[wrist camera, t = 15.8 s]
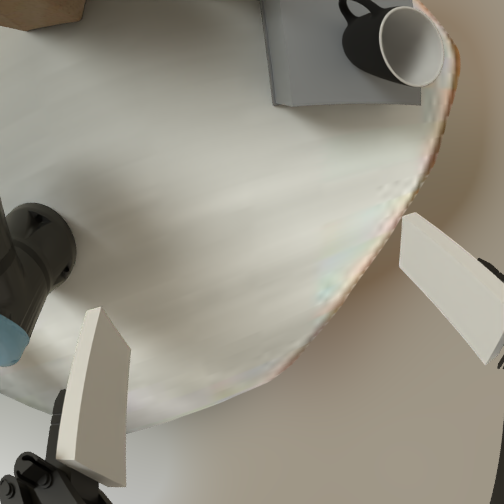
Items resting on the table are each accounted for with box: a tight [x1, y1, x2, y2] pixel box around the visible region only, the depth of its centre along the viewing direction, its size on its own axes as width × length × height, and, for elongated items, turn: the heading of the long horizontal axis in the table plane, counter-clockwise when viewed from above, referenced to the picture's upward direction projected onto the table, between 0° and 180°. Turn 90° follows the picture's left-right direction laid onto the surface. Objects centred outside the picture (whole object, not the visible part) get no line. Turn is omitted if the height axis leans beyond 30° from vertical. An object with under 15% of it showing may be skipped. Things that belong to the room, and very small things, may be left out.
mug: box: [338, 0, 444, 87], centre depth 24 cm, size 12×9×10 cm
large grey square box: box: [259, 0, 421, 107], centre depth 32 cm, size 21×19×8 cm
